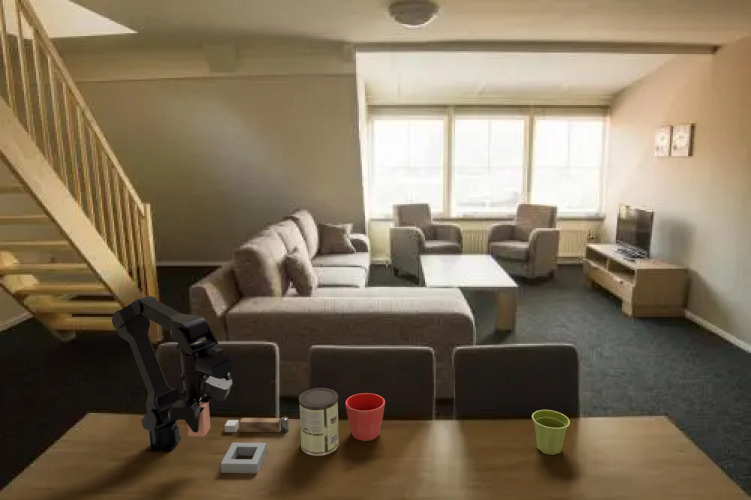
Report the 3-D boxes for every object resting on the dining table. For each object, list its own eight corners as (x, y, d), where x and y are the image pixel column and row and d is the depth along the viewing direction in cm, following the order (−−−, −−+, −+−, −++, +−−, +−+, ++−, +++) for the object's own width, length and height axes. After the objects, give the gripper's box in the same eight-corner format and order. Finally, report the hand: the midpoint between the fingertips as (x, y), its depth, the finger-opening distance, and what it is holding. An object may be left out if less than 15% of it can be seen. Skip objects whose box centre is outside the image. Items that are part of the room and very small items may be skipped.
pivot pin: (280, 432, 138) (279, 420, 137) (281, 427, 140) (281, 416, 139) (287, 432, 138) (287, 420, 137) (289, 428, 140) (289, 416, 139)
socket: (221, 472, 120) (220, 463, 119) (233, 451, 129) (232, 442, 128) (257, 473, 120) (257, 464, 119) (266, 451, 128) (266, 443, 128)
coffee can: (305, 433, 137) (304, 386, 134) (341, 435, 136) (341, 388, 133) (296, 455, 127) (294, 405, 124) (335, 457, 126) (334, 407, 123)
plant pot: (528, 454, 127) (530, 424, 125) (531, 435, 135) (533, 407, 134) (567, 462, 123) (569, 431, 122) (567, 443, 132) (570, 413, 130)
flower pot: (349, 422, 143) (349, 391, 141) (387, 424, 141) (387, 393, 140) (342, 442, 133) (341, 409, 131) (382, 445, 131) (382, 412, 129)
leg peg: (188, 436, 120) (186, 410, 119) (194, 427, 124) (192, 402, 123) (204, 436, 120) (202, 410, 119) (210, 427, 124) (208, 402, 123)
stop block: (225, 432, 138) (224, 425, 137) (228, 426, 141) (228, 420, 140) (235, 432, 138) (235, 425, 137) (238, 426, 141) (238, 420, 140)
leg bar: (280, 427, 140) (280, 418, 139) (278, 432, 138) (278, 422, 137) (242, 427, 140) (241, 417, 140) (240, 431, 138) (239, 421, 137)
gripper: (213, 386, 110) (217, 449, 113) (238, 354, 128) (242, 409, 131) (164, 386, 110) (170, 448, 113) (197, 353, 129) (201, 408, 131)
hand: (199, 427), depth 122 cm, fingers closed on leg peg, 4 cm apart
